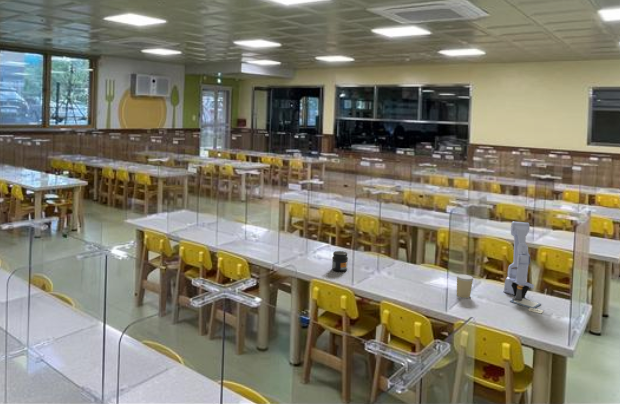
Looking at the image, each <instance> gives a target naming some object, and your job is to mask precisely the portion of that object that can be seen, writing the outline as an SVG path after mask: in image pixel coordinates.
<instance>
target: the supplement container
mask: <svg viewBox="0 0 620 404" xmlns="http://www.w3.org/2000/svg"><path fill="white" fill-rule="evenodd" d="M332 255H333V256H332V257H331V258H332V259H331V262H332V263H331V264H332V265H331V270H332V271H333V272H338V273H344V272H346V271H347V270H348V262H349V261H348V260H349V258H348V252H346V251H343V250H342V251H341V250H336V251H333V253H332Z"/></svg>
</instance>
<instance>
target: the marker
mask: <svg viewBox="0 0 620 404" xmlns="http://www.w3.org/2000/svg"><path fill="white" fill-rule="evenodd" d="M522 287H524V286H521V285H517V290H516V296H514V298H515V299H516V300H519V301H522V299H524V298H522Z"/></svg>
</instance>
